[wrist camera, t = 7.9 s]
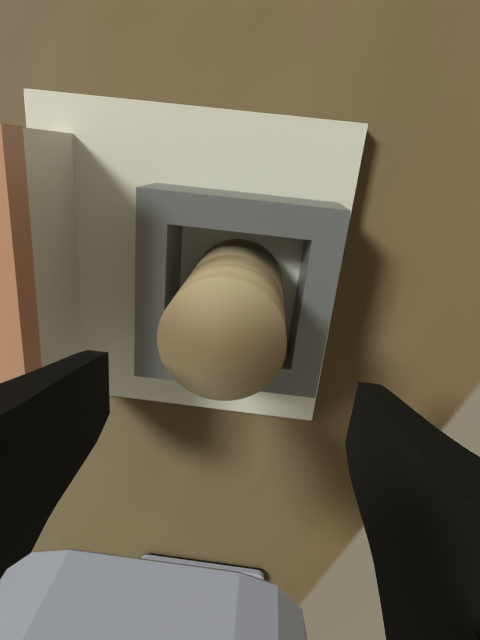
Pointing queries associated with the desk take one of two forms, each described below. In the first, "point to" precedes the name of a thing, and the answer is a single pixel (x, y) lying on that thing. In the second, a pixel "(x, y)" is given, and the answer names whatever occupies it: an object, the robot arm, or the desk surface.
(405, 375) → the desk surface
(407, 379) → the desk surface
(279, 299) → the maple peg
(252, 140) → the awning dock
